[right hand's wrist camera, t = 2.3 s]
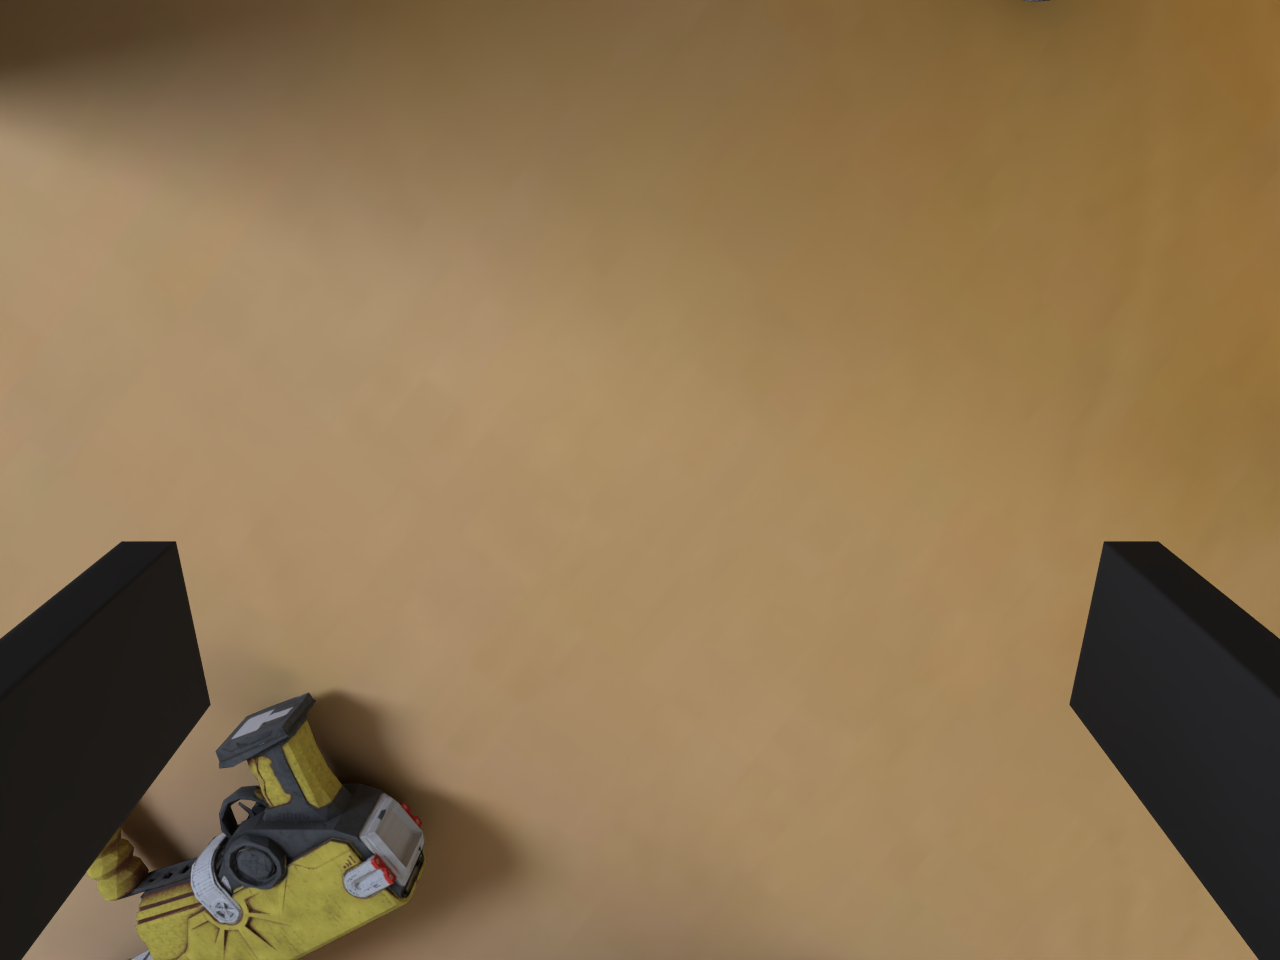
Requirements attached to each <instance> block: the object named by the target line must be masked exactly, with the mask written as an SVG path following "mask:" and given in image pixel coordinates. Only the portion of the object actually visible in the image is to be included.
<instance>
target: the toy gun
mask: <svg viewBox="0 0 1280 960" xmlns="http://www.w3.org/2000/svg"><path fill="white" fill-rule="evenodd" d="M315 702H316V700H314V699H313V698H312V696H311V695H310V693H306V694H303V695H300V696H298V697H295V698H292V699H290V700H287V701H284V702H282V703H279V704H276V705H274V706H271V707H269V708H266V709H264V710H261V711H259V712H256V713H254V714H251V715H249V716H247V717H246V718H245V719H244V720H243V721H242V722H241V723H240V725H239V726H238V727H237V728H236V729H235V730H234V731H233V732H232V734H231V735H230V736H229V737H228V738H227V739H226V740H225V741H224V743H223V744H222V745H221V746H220V747H219V748H218V749H217V750H216V753H217V756H218V758H219V761H220V763H219V768H227V767H234V766H235V765H237V764H239V763H241V762H243V761H244V760H247V762H248V765H249V768H250V770H251V772H252V773H253V775H254V776H255V777H256V779H257V780H258V782H259V785H260V787H259V786H248V787H241V788H240V789H238V790H237V791H236V792H234V793H233V794H232V795H230V796H229V797H228V798H226V799H225V800H224V801H223V804H222V807H221V810H220V813H219V817H220V823H221V829H222V832H223V833H222V834H220V835H218V836H216V837H214V838H213V839H212V840H211V842H210V843H209V844H208V846H207V847H206V848H205V849H204V851H203V852H202V853H201V855H200V856H199V857H197V858H194V859H190V860H187V861H184V862H181V863H178V864H174V865H171V866H168V867H165V868H162V869H158V870H155V871H152V872H149V873H148V871H149V870H148V868H147V867H146V865H145V864H144V863H143V861H142V860H141V858H139V857H136V856H133V851H134V847H133V846H132V844H131V843H130V842H129V841H128V840H125V839H122V838H121V827H119V829H118V830H117V831H116V833H115V834H114V835H113V837H112V838H111V839H110V841H109V842H108V843H107V845H106V846H105V848H104V849H103V850H102V852H101V853H100V854H99V856H98V857H97V858H96V860H95V861H94V862H93V864H92V865H91V866H90V868H89V869H88V870H87V872H86V873H87V874H88V876H89V877H90V878H91V879H97V887H98V891H99V892H100V894H101V895H102V896H103V897H104V899H105V900H106V901H116V900H119V899H122V898H125V897H128V896H131V895H135V894H138V893H141V892H144V891H145V892H144V893H143V895H142V896H141V897H140V905H139V908H140V909H139V912H137V919H136V921H138V925H136V930H137V932H138V935H139V937H140V938H141V939H142V940H143V941H144V943H145V944H146V945H147V948H148V950H147V951H146V952H144V953H142V954H140V955H139V956H137V957H135V958H132V959H129V960H297V959H299V958H301V957H303V956H305V955H307V954H308V953H310V952H312V951H314V950H316V949H318V948H320V947H322V946H324V945H326V944H328V943H330V942H332V941H334V940H336V939H338V938H340V937H342V936H344V935H346V934H348V933H350V932H352V931H353V930H355V929H357V928H359V927H361V926H363V925H365V924H367V923H369V922H371V921H373V920H375V919H377V918H379V917H381V916H383V915H385V914H387V913H389V912H391V911H393V910H395V909H397V908H399V907H400V906H402V905H404V904H406V903H408V902H409V901H410V900H411V898H412V895H413V892H414V890H415V887H416V884H417V882H418V880H419V878H420V876H421V874H422V872H423V870H424V868H425V865H426V861H427V860H426V856H425V852H424V848H423V846H424V844H425V841H424V837H423V832H422V830H421V829H420V826H421V824H422V822H421V821H420V819H419V818H418V817H417V816H412V815H411V811H410V807H409V806H408V805H407V804H406V803H404V802H403V803H401V804H399V803H398V802H397V801H396V800H394V799H393V798H392V797H390V796H389V795H387V794H385V792H384V791H383V790H380V789H377V788H374V787H370V786H367V785H364V784H360V783H350V784H341V783H340V782H339V781H338V779H337V778H336V777H335V775H334V774H333V773H332V772H331V770H330V769H329V767H328V766H327V764H326V762H325V760H324V758H323V756H322V754H321V753H320V751H319V749H318V747H317V745H316V742H315V739H314V737H313V734H312V732H311V729H310V726H309V724H308V721H307V712H308V711H309V709H310V708H311V707H312V705H313V704H314V703H315ZM240 799H246V800H253V801H256V802H257V803H256V804H255V805H254V806H253V808H252V810H251V809H249V808H248V807H246V806H245V805H243V804H242V803H240V802H239V805H240V806H241V807H242V808H243V809H244V810H245V811H247V812H248V813H249V816H248V818H247V820H245V821H243V822H242V823H241V824H239V825H237V822H236V819H235V817H234V814H233V812H232V809H231V805H232V804H233V803H235V802H237V801H238V800H240Z"/></svg>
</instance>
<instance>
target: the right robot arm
mask: <svg viewBox="0 0 1280 960" xmlns="http://www.w3.org/2000/svg"><path fill="white" fill-rule="evenodd" d="M209 706H210V700H209V695H208V690H207V686H206V681H205V676H204V672H203V667H202V662H201V657H200V653H199V648H198V643H197V639H196V634H195V629H194V624H193V620H192V615H191V610H190V606H189V601H188V596H187V591H186V587H185V582H184V577H183V573H182V568H181V563H180V558H179V554H178V549H177V544H176V542H121V543H119V544H118V545H117V546H116V547H114V548H113V549H112V550H111V551H109V552H108V553H107V554H106V555H104V556H103V557H102V558H101V559H99V560H98V561H97V562H96V563H94V564H93V565H92V566H91V567H89V568H88V569H87V570H86V571H84V572H83V573H82V574H81V575H79V576H78V577H77V578H76V579H74V580H73V581H72V582H71V583H69V584H68V585H67V586H66V587H64V588H63V589H62V590H61V591H59V592H58V593H57V594H56V595H54V596H53V597H52V598H51V599H49V600H48V601H47V602H46V603H44V604H43V605H42V606H41V607H39V608H38V609H37V610H36V611H35V612H33V613H32V614H31V615H30V616H28V617H27V618H26V619H25V620H23V621H22V622H21V623H20V624H18V625H17V626H16V627H15V628H13V629H12V630H11V631H10V632H8V633H7V634H6V635H5V636H3V637H2V638H1V639H0V960H21V959H22V958H23V957H24V955H25V954H26V953H27V951H28V950H29V949H30V947H31V946H32V945H33V943H34V942H35V940H36V939H37V938H38V936H39V935H40V934H41V932H42V931H43V930H44V928H45V927H46V926H47V924H48V923H49V922H50V920H51V919H52V918H53V916H54V915H55V914H56V912H57V911H58V910H59V908H60V907H61V905H62V904H63V903H64V901H65V900H66V899H67V897H68V896H69V895H70V893H71V892H72V891H73V889H74V888H75V887H76V885H77V884H78V883H79V881H80V880H81V879H82V877H83V876H84V874H85V873H86V872H87V870H88V869H89V868H90V866H91V865H92V864H93V862H94V861H95V860H96V858H97V857H98V856H99V854H100V853H101V852H102V850H103V849H104V848H105V846H106V845H107V843H108V842H109V841H110V839H111V838H112V837H113V835H114V834H115V833H116V831H117V830H118V829H119V827H120V826H121V825H122V823H123V822H124V821H125V819H126V818H127V817H128V815H129V814H130V812H131V811H132V810H133V808H134V807H135V806H136V804H137V803H138V802H139V800H140V799H141V798H142V796H143V795H144V794H145V792H146V791H147V790H148V788H149V787H150V786H151V784H152V783H153V781H154V780H155V779H156V777H157V776H158V775H159V773H160V772H161V771H162V769H163V768H164V767H165V765H166V764H167V763H168V761H169V760H170V759H171V757H172V756H173V755H174V753H175V752H176V750H177V749H178V748H179V746H180V745H181V744H182V742H183V741H184V740H185V738H186V737H187V736H188V734H189V733H190V732H191V730H192V729H193V728H194V726H195V725H196V724H197V722H198V721H199V719H200V718H201V717H202V715H203V714H204V713H205V711H206V710H207V709H208V707H209ZM1070 706H1071V707H1072V709H1073V710H1074V711H1075V713H1076V714H1077V715H1078V717H1079V718H1080V719H1081V721H1082V722H1083V724H1084V725H1085V726H1086V728H1087V729H1088V730H1089V732H1090V733H1091V734H1092V736H1093V737H1094V738H1095V740H1096V741H1097V742H1098V744H1099V745H1100V746H1101V748H1102V749H1103V750H1104V752H1105V753H1106V755H1107V756H1108V757H1109V759H1110V760H1111V761H1112V763H1113V764H1114V765H1115V767H1116V768H1117V769H1118V771H1119V772H1120V773H1121V775H1122V776H1123V777H1124V779H1125V780H1126V781H1127V783H1128V784H1129V786H1130V787H1131V788H1132V790H1133V791H1134V792H1135V794H1136V795H1137V796H1138V798H1139V799H1140V800H1141V802H1142V803H1143V804H1144V806H1145V807H1146V808H1147V810H1148V811H1149V812H1150V814H1151V815H1152V817H1153V818H1154V819H1155V821H1156V822H1157V823H1158V825H1159V826H1160V827H1161V829H1162V830H1163V831H1164V833H1165V834H1166V835H1167V837H1168V838H1169V839H1170V841H1171V842H1172V843H1173V845H1174V846H1175V848H1176V849H1177V850H1178V852H1179V853H1180V854H1181V856H1182V857H1183V858H1184V860H1185V861H1186V862H1187V864H1188V865H1189V866H1190V868H1191V869H1192V870H1193V872H1194V873H1195V874H1196V876H1197V877H1198V879H1199V880H1200V881H1201V883H1202V884H1203V885H1204V887H1205V888H1206V889H1207V891H1208V892H1209V893H1210V895H1211V896H1212V897H1213V899H1214V900H1215V901H1216V903H1217V904H1218V905H1219V907H1220V908H1221V910H1222V911H1223V912H1224V914H1225V915H1226V916H1227V918H1228V919H1229V920H1230V922H1231V923H1232V924H1233V926H1234V927H1235V928H1236V930H1237V931H1238V932H1239V934H1240V935H1241V936H1242V938H1243V939H1244V940H1245V942H1246V943H1247V945H1248V946H1249V947H1250V949H1251V950H1252V951H1253V953H1254V954H1255V955H1256V957H1257V958H1258V959H1259V960H1280V639H1279V638H1278V637H1277V636H1275V635H1274V634H1273V633H1272V632H1270V631H1269V630H1268V629H1267V628H1265V627H1264V626H1263V625H1262V624H1260V623H1259V622H1258V621H1257V620H1255V619H1254V618H1253V617H1252V616H1250V615H1249V614H1248V613H1247V612H1245V611H1244V610H1243V609H1242V608H1241V607H1239V606H1238V605H1237V604H1236V603H1234V602H1233V601H1232V600H1231V599H1229V598H1228V597H1227V596H1226V595H1224V594H1223V593H1222V592H1221V591H1219V590H1218V589H1217V588H1216V587H1214V586H1213V585H1212V584H1211V583H1209V582H1208V581H1207V580H1206V579H1204V578H1203V577H1202V576H1201V575H1199V574H1198V573H1197V572H1196V571H1194V570H1193V569H1192V568H1191V567H1189V566H1188V565H1187V564H1186V563H1184V562H1183V561H1182V560H1181V559H1179V558H1178V557H1177V556H1176V555H1174V554H1173V553H1172V552H1171V551H1169V550H1168V549H1167V548H1166V547H1164V546H1163V545H1162V544H1161V543H1159V542H1104V544H1103V549H1102V554H1101V558H1100V563H1099V568H1098V573H1097V577H1096V582H1095V587H1094V591H1093V596H1092V601H1091V606H1090V610H1089V615H1088V620H1087V624H1086V629H1085V634H1084V639H1083V643H1082V648H1081V653H1080V657H1079V662H1078V667H1077V672H1076V676H1075V681H1074V686H1073V690H1072V695H1071V700H1070Z"/></svg>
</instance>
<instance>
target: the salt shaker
mask: <svg viewBox="0 0 1280 960" xmlns="http://www.w3.org/2000/svg"><path fill="white" fill-rule="evenodd" d="M1025 1H1030V2H1037V1H1048V0H1025Z"/></svg>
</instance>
